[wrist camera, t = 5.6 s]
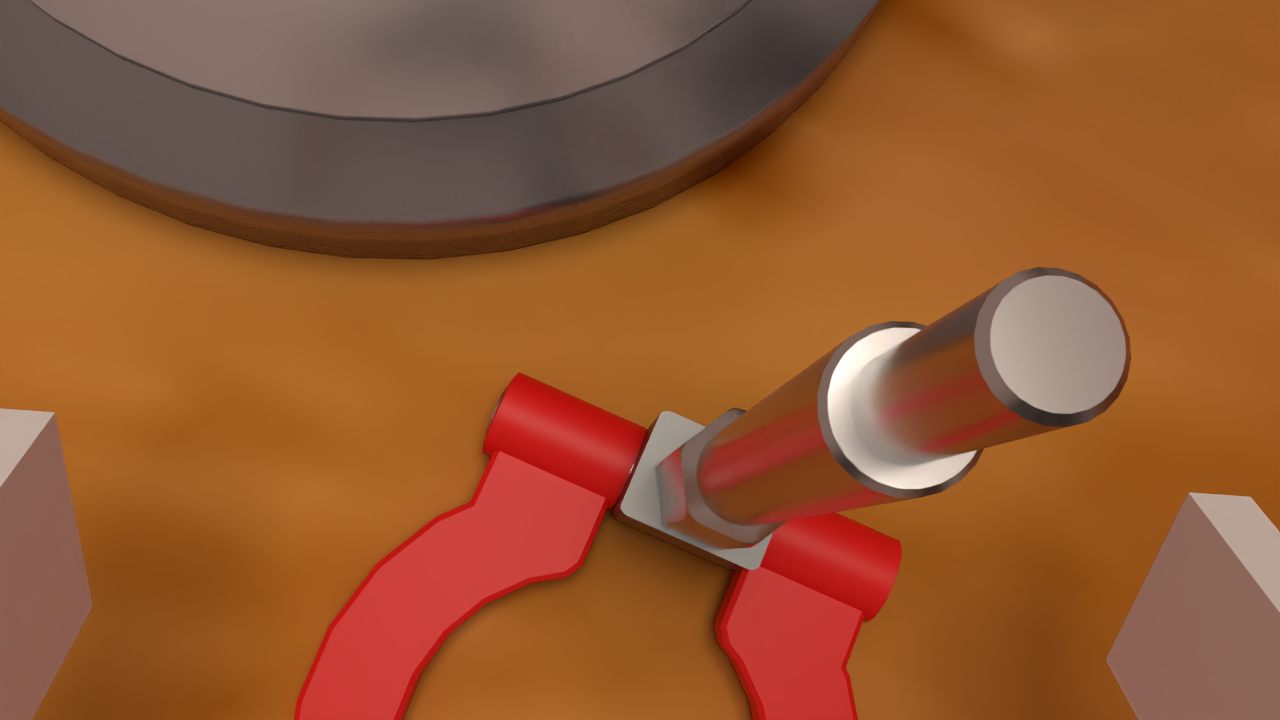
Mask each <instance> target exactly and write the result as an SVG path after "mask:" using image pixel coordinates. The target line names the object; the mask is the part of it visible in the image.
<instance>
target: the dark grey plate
mask: <svg viewBox="0 0 1280 720" xmlns="http://www.w3.org/2000/svg"><path fill="white" fill-rule="evenodd" d="M880 1H881V0H0V120H1V121H2V122H3V123H5V124H6V125H7V126H8V127H10V128H11V129H12V130H14V131H15V132H16V133H18V134H19V135H20V136H22V137H23V138H24V139H26V140H27V141H28V142H29V143H31V144H32V145H33V146H35V147H36V148H37V149H39V150H40V151H41V152H43V153H44V154H45V155H47V156H49V157H51V158H52V159H54V160H56V161H58V162H59V163H61V164H63V165H65V166H67V167H68V168H70V169H72V170H74V171H75V172H77V173H79V174H81V175H82V176H84V177H86V178H88V179H89V180H91V181H93V182H95V183H96V184H98V185H100V186H102V187H103V188H105V189H107V190H109V191H110V192H112V193H114V194H116V195H119V196H121V197H124V198H126V199H129V200H131V201H133V202H136V203H138V204H141V205H143V206H146V207H148V208H151V209H153V210H155V211H158V212H160V213H163V214H165V215H168V216H170V217H172V218H175V219H177V220H180V221H182V222H185V223H187V224H190V225H193V226H197V227H201V228H205V229H208V230H212V231H216V232H219V233H223V234H227V235H230V236H234V237H238V238H242V239H245V240H249V241H253V242H256V243H260V244H264V245H268V246H274V247H281V248H288V249H295V250H302V251H309V252H316V253H323V254H330V255H337V256H345V257H368V258H423V259H431V258H440V257H450V256H460V255H469V254H479V253H488V252H498V251H507V250H512V249H516V248H521V247H525V246H529V245H534V244H538V243H542V242H546V241H551V240H555V239H559V238H564V237H568V236H572V235H576V234H581V233H584V232H587V231H590V230H592V229H595V228H598V227H600V226H603V225H606V224H608V223H611V222H614V221H616V220H619V219H622V218H625V217H627V216H630V215H633V214H635V213H638V212H641V211H643V210H646V209H649V208H651V207H654V206H656V205H657V204H659V203H661V202H663V201H665V200H667V199H669V198H671V197H673V196H674V195H676V194H678V193H680V192H682V191H684V190H686V189H688V188H689V187H691V186H693V185H695V184H697V183H699V182H701V181H703V180H705V179H706V178H708V177H710V176H712V175H714V174H716V173H717V172H719V171H720V170H721V169H723V168H724V167H726V166H727V165H728V164H730V163H731V162H732V161H734V160H735V159H737V158H738V157H739V156H741V155H742V154H744V153H745V152H746V151H748V150H749V149H751V148H752V147H753V146H755V145H756V144H757V143H759V142H760V141H762V140H763V139H764V138H766V137H767V136H769V135H770V134H771V133H772V132H773V131H775V130H776V129H777V128H778V127H779V126H780V125H781V124H782V123H783V122H784V121H785V120H786V119H787V118H788V117H789V116H790V115H791V114H792V113H793V112H794V111H795V110H796V109H797V108H798V107H800V106H801V105H802V104H803V103H804V102H805V101H806V100H807V99H808V98H809V97H810V96H811V95H812V94H813V93H814V92H815V91H816V90H817V89H818V88H819V87H820V86H821V85H822V83H823V82H824V81H825V79H826V78H827V77H828V76H829V74H830V73H831V72H832V70H833V69H834V68H835V67H836V65H837V64H838V63H839V61H840V60H841V59H842V58H843V56H844V55H845V54H846V52H847V51H848V50H849V48H850V47H851V46H852V45H853V43H854V42H855V41H856V39H857V38H858V37H859V35H860V33H861V32H862V30H863V29H864V27H865V25H866V24H867V22H868V20H869V19H870V17H871V15H872V14H873V12H874V11H875V9H876V7H877V6H878V4H879V2H880Z"/></svg>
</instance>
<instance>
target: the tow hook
mask: <svg viewBox="0 0 1280 720" xmlns="http://www.w3.org/2000/svg"><path fill="white" fill-rule="evenodd" d="M1130 362H1131V352H1130V338H1129V335H1128V332H1127V329H1126V326H1125V323H1124V320H1123V318H1122V316H1121V314H1120V313H1119V311H1118V310H1117V308H1116V306H1115V305H1114V303H1113V302H1112V300H1111V299H1110V298H1109V297H1108V296H1107V295H1106V294H1105V293H1104V292H1103V291H1102V290H1101V289H1100V288H1099V287H1098V286H1097V285H1095V284H1094V283H1092V282H1090V281H1089V280H1087V279H1085V278H1084V277H1082V276H1080V275H1079V274H1076V273H1072V272H1069V271H1066V270H1063V269H1059V268H1041V267H1038V268H1034V269H1029V270H1025V271H1021V272H1018V273H1016V274H1014V275H1012V276H1011V277H1009V278H1007V279H1005V280H1003V281H1002V282H1000V283H998V284H997V285H995V286H993V287H992V288H990V289H988V290H987V291H985V292H983V293H982V294H980V295H979V296H977V297H975V298H974V299H972V300H970V301H969V302H967V303H965V304H964V305H962V306H960V307H959V308H957V309H955V310H954V311H952V312H950V313H949V314H947V315H945V316H944V317H942V318H941V319H939V320H937V321H936V322H934V323H932V324H931V325H929V326H924V325H921V324H917V323H914V322H894V321H890V322H886V323H882V324H877V325H873V326H869V327H867V328H865V329H864V330H862V331H860V332H858V333H856V334H854V335H853V336H851V337H849V338H848V339H846V340H845V341H844V342H842V343H841V344H839V345H838V346H837V347H835V348H834V349H833V350H831V351H830V352H828V353H827V354H826V355H824V356H823V357H821V358H820V359H819V360H817V361H816V362H815V363H813V364H812V365H810V366H809V367H808V368H806V369H805V370H803V371H802V372H801V373H799V374H798V375H797V376H795V377H794V378H792V379H791V380H790V381H788V382H787V383H785V384H784V385H783V386H781V387H780V388H778V389H777V390H776V391H774V392H773V393H772V394H770V395H769V396H767V397H766V398H765V399H763V400H762V401H760V402H759V403H758V404H756V405H755V406H754V407H752V408H751V409H749V410H748V411H745V410H742V409H738V408H731V409H730V410H728V411H727V412H726V413H724V414H723V415H722V416H720V417H719V418H718V419H716V420H715V421H714V422H712V423H711V424H709V425H708V426H707V427H705V426H703V425H700V424H698V423H696V422H693V421H691V420H689V419H687V418H684V417H682V416H680V415H678V414H675V413H673V412H670V411H664V412H662V413H661V414H660V415H659V416H658V417H657V419H656V420H655V421H654V422H653V423H652V425H651V426H650V427H649V428H648V429H646V428H644V427H642V426H639V425H637V424H635V423H633V422H630V421H628V420H626V419H623V418H621V417H619V416H617V415H614V414H612V413H610V412H608V411H605V410H603V409H601V408H599V407H596V406H594V405H592V404H590V403H587V402H585V401H583V400H581V399H578V398H576V397H574V396H572V395H569V394H567V393H565V392H563V391H560V390H558V389H556V388H554V387H551V386H549V385H547V384H545V383H542V382H540V381H538V380H536V379H533V378H531V377H529V376H527V375H524V374H522V373H520V372H519V373H518V374H517V375H516V376H515V377H514V378H513V380H512V381H511V382H510V384H509V386H507V387H506V389H505V390H504V392H503V394H502V395H501V397H500V399H499V401H498V403H497V405H496V408H495V410H494V412H493V414H492V417H491V419H490V421H489V424H488V427H487V430H486V433H485V435H486V436H485V440H484V445H483V453H484V454H487V455H489V456H491V459H490V461H489V463H488V465H487V467H486V469H485V472H484V474H483V476H482V478H481V480H480V482H479V485H478V487H477V489H476V491H475V493H474V495H473V497H472V500H471V502H469V503H467V504H464V505H462V506H460V507H458V508H455V509H453V510H451V511H449V512H446V513H444V514H442V515H439V516H437V517H435V518H434V519H433V520H432V521H430V522H429V523H428V524H427V525H425V526H424V527H423V528H422V529H420V530H419V531H418V532H416V533H415V534H414V535H413V536H411V537H410V538H409V539H408V540H406V541H405V542H404V543H402V544H401V545H400V546H399V547H397V548H396V549H395V550H394V551H392V552H391V553H390V554H389V555H387V556H386V557H385V558H383V559H382V560H381V561H380V562H378V563H377V564H376V565H375V567H374V568H373V569H372V570H371V572H370V573H369V574H368V576H367V577H366V578H365V580H364V581H363V582H362V584H361V585H360V586H359V587H358V589H357V590H356V591H355V593H354V594H353V595H352V597H351V598H350V599H349V601H348V602H347V603H346V604H345V606H344V607H343V608H342V610H341V611H340V612H339V614H338V615H337V616H336V618H335V619H334V620H333V621H332V623H331V624H330V625H329V627H328V629H327V632H326V634H325V636H324V639H323V641H322V643H321V646H320V648H319V650H318V653H317V655H316V657H315V660H314V662H313V664H312V667H311V669H310V671H309V674H308V676H307V678H306V681H305V683H304V685H303V688H302V690H301V692H300V695H299V697H298V699H297V705H296V711H295V717H294V720H403V719H404V716H405V713H406V711H407V708H408V706H409V703H410V701H411V698H412V696H413V693H414V691H415V688H416V686H417V684H418V681H419V679H420V676H421V674H422V671H423V670H424V669H425V667H426V666H427V665H428V663H429V662H430V660H431V659H432V658H433V656H434V655H435V654H436V652H437V651H438V650H439V648H440V647H441V645H442V644H443V643H444V641H445V640H446V639H447V637H448V636H449V635H450V633H451V632H452V631H453V630H455V629H456V628H457V627H458V626H459V625H461V624H462V623H463V622H464V621H466V620H467V619H468V618H469V617H470V616H472V615H473V614H474V613H475V612H477V611H478V610H479V609H480V608H481V607H483V606H484V605H485V604H486V603H488V602H490V601H493V600H495V599H497V598H499V597H501V596H504V595H506V594H508V593H510V592H512V591H515V590H517V589H519V588H521V587H523V586H525V585H528V584H530V583H534V582H540V581H546V580H552V579H558V578H564V577H568V576H569V575H570V574H572V573H573V572H574V571H576V570H577V569H578V568H579V567H581V566H582V565H583V563H584V560H585V558H586V556H587V553H588V551H589V549H590V547H591V544H592V542H593V540H594V537H595V535H596V533H597V530H598V528H599V526H600V524H601V521H602V519H603V517H604V514H605V512H606V510H607V508H609V509H611V510H612V512H611V513H612V516H613V518H614V519H615V520H617V521H619V522H621V523H623V524H626V525H628V526H630V527H632V528H635V529H637V530H639V531H641V532H644V533H646V534H648V535H650V536H653V537H655V538H657V539H659V540H662V541H664V542H666V543H668V544H671V545H673V546H675V547H678V548H680V549H682V550H684V551H687V552H689V553H691V554H693V555H696V556H698V557H700V558H702V559H705V560H707V561H709V562H711V563H714V564H716V565H718V566H720V567H723V568H725V569H735V572H734V574H733V577H732V579H731V582H730V584H729V587H728V589H727V592H726V594H725V597H724V599H723V602H722V604H721V607H720V609H719V612H718V614H717V616H716V619H715V621H714V628H715V633H716V638H717V643H718V644H719V646H720V647H721V648H722V649H723V651H724V652H725V653H726V654H727V656H728V657H729V658H730V660H731V662H732V664H733V666H734V669H735V671H736V673H737V675H738V678H739V680H740V682H741V684H742V687H743V689H744V691H745V693H746V695H747V698H748V700H749V702H750V708H751V714H752V720H858V718H857V713H856V708H855V702H854V697H853V692H852V686H851V681H850V676H849V674H848V672H847V670H846V668H845V667H846V665H847V662H848V659H849V657H850V654H851V651H852V649H853V646H854V643H855V641H856V638H857V635H858V633H859V630H860V627H861V625H862V622H863V621H864V622H867V621H870V620H871V619H873V618H874V617H875V616H876V615H877V613H878V612H879V611H880V609H881V608H882V606H883V605H884V603H885V602H886V600H887V598H888V596H889V594H890V592H891V590H892V587H893V585H894V582H895V579H896V576H897V573H898V570H899V566H900V561H901V553H902V550H901V544H900V542H899V540H896V539H894V538H892V537H890V536H887V535H885V534H883V533H881V532H878V531H876V530H874V529H872V528H869V527H867V526H865V525H863V524H860V523H858V522H856V521H854V520H851V519H849V518H847V517H844V516H842V515H840V514H838V513H835V512H839V511H845V510H850V509H856V508H862V507H868V506H874V505H880V504H886V503H892V502H897V501H903V500H909V499H915V498H920V497H924V496H928V495H932V494H936V493H940V492H942V491H944V490H945V489H947V488H949V487H951V486H952V485H954V484H956V483H957V482H959V481H961V480H962V478H963V477H964V476H965V475H966V474H967V473H968V472H969V471H970V470H971V469H972V468H973V467H974V466H975V465H976V463H977V461H978V459H979V457H980V455H981V453H982V451H983V450H984V448H987V447H991V446H995V445H999V444H1003V443H1007V442H1011V441H1015V440H1018V439H1022V438H1026V437H1030V436H1034V435H1038V434H1042V433H1046V432H1050V431H1054V430H1057V429H1061V428H1065V427H1069V426H1073V425H1077V424H1081V423H1085V422H1088V421H1090V420H1091V419H1093V418H1095V417H1097V416H1098V415H1100V414H1102V413H1103V412H1105V411H1106V410H1107V409H1108V408H1109V407H1110V405H1111V404H1112V403H1113V402H1114V401H1115V400H1116V399H1117V398H1118V397H1119V395H1120V393H1121V391H1122V389H1123V387H1124V384H1125V382H1126V380H1127V377H1128V372H1129V367H1130Z"/></svg>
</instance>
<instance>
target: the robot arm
mask: <svg viewBox="0 0 1280 720" xmlns="http://www.w3.org/2000/svg"><path fill="white" fill-rule="evenodd" d="M92 607H93V604H92V599H91V594H90V589H89V584H88V579H87V574H86V568H85V563H84V558H83V553H82V548H81V543H80V538H79V533H78V528H77V523H76V518H75V512H74V507H73V502H72V497H71V492H70V487H69V482H68V477H67V472H66V467H65V462H64V456H63V451H62V446H61V441H60V436H59V431H58V426H57V421H56V416H55V412H41V411H27V410H13V409H0V720H33V718H34V716H35V714H36V712H37V710H38V708H39V706H40V705H41V703H42V701H43V699H44V697H45V695H46V693H47V691H48V690H49V688H50V686H51V684H52V682H53V680H54V678H55V676H56V675H57V673H58V671H59V669H60V667H61V665H62V663H63V661H64V660H65V658H66V656H67V654H68V652H69V650H70V648H71V646H72V645H73V643H74V641H75V639H76V637H77V635H78V633H79V631H80V630H81V628H82V626H83V624H84V622H85V620H86V618H87V616H88V615H89V613H90V611H91V609H92ZM1106 661H1107V663H1108V665H1109V667H1110V669H1111V671H1112V672H1113V674H1114V676H1115V678H1116V680H1117V682H1118V684H1119V685H1120V687H1121V689H1122V691H1123V693H1124V695H1125V696H1126V698H1127V700H1128V702H1129V704H1130V706H1131V708H1132V709H1133V711H1134V713H1135V715H1136V717H1137V719H1138V720H1280V532H1279V531H1278V529H1277V528H1276V527H1275V526H1274V525H1273V523H1272V522H1271V521H1270V520H1269V519H1268V517H1267V516H1266V515H1265V514H1264V513H1263V511H1262V510H1261V509H1260V508H1259V507H1258V505H1257V504H1256V503H1255V502H1254V501H1253V499H1252V498H1251V497H1245V496H1231V495H1217V494H1203V493H1188V495H1187V497H1186V499H1185V501H1184V503H1183V505H1182V507H1181V509H1180V511H1179V513H1178V515H1177V517H1176V519H1175V521H1174V523H1173V525H1172V527H1171V529H1170V531H1169V533H1168V535H1167V537H1166V539H1165V541H1164V543H1163V545H1162V547H1161V549H1160V551H1159V553H1158V555H1157V557H1156V559H1155V561H1154V563H1153V565H1152V567H1151V569H1150V571H1149V573H1148V575H1147V577H1146V580H1145V582H1144V584H1143V586H1142V588H1141V590H1140V592H1139V594H1138V596H1137V598H1136V600H1135V602H1134V604H1133V606H1132V608H1131V610H1130V612H1129V614H1128V616H1127V618H1126V620H1125V622H1124V624H1123V626H1122V628H1121V630H1120V632H1119V634H1118V636H1117V638H1116V640H1115V642H1114V644H1113V646H1112V648H1111V650H1110V652H1109V654H1108V656H1107V658H1106Z"/></svg>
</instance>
